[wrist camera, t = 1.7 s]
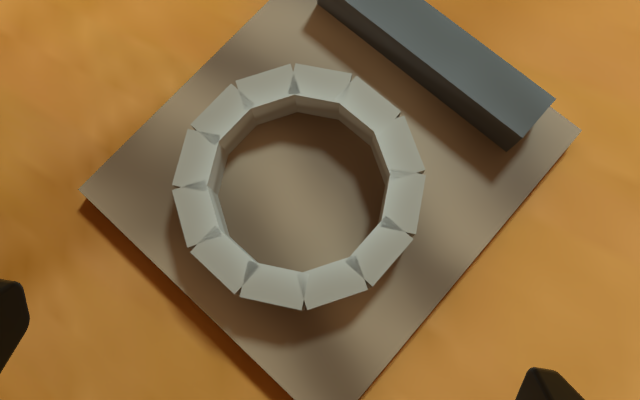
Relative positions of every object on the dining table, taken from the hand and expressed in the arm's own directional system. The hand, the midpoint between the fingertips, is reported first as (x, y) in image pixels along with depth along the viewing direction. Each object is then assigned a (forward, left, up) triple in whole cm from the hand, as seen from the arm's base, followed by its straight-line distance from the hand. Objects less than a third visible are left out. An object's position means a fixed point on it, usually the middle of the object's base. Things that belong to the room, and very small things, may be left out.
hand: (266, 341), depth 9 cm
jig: (+6, +4, -14) cm, 16 cm away
